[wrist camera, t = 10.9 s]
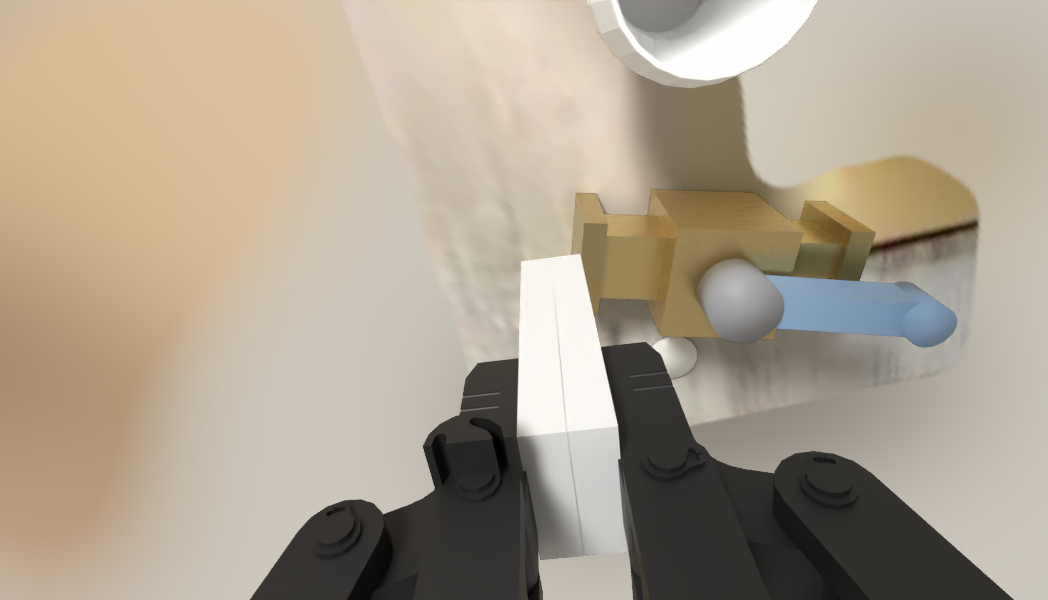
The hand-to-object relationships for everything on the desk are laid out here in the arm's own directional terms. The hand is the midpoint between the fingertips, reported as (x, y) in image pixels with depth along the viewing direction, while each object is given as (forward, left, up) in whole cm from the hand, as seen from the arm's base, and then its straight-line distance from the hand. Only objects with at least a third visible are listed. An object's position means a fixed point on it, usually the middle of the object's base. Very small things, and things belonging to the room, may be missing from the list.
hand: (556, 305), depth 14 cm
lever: (+9, +18, -20) cm, 29 cm away
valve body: (+9, +13, -29) cm, 33 cm away
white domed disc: (+20, +13, -29) cm, 38 cm away
